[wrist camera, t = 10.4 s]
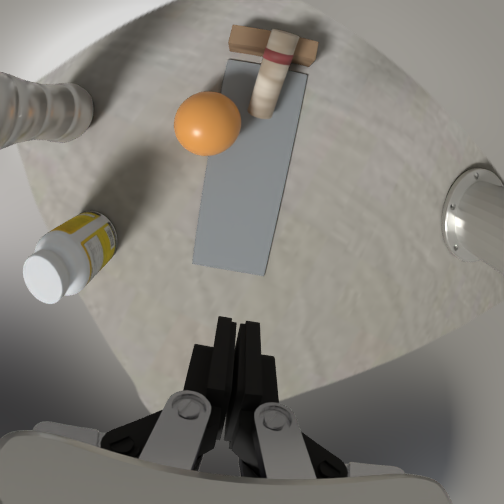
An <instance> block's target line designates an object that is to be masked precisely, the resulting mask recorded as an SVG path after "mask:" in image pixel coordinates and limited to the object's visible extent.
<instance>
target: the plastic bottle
mask: <svg viewBox="0 0 504 504" xmlns="http://www.w3.org/2000/svg"><path fill="white" fill-rule="evenodd" d="M93 113H94V106H93V101H92V98H91V96H90V94H89V93H88V92H87V91H86V90H85V89H84V88H82V87H80V86H79V85H77V84H74V83H59V84H39V83H34V82H30V81H26V80H22V79H20V78H17V77H15V76H12V75H9V74H6V73H3V72H0V149H3V148H6V147H8V146H10V145H13V144H16V143H20V142H25V141H30V140H47V141H50V142H58V143H65V142H69V141H71V140H74V139H76V138H78V137H80V136H81V135H82V134H83V133H84V132H85V131H86V130H87V129H88V127H89V125H90V123H91V121H92V118H93Z"/></svg>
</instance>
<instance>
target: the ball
mask: <svg viewBox="0 0 504 504" xmlns="http://www.w3.org/2000/svg"><path fill="white" fill-rule="evenodd" d="M174 129H175V134H176V137H177V139H178V141H179V142H180V143H181V145H182V146H183V147H184V148H185V149H187V150H188V151H190V152H192V153H194V154H197V155H202V156H212V155H216V154H219V153H222V152H224V151H225V150H227V149H228V148H229V147H231V146H232V145H233V143H234V142H235V141H236V139H237V137H238V135H239V133H240V129H241V116H240V113H239V110H238V108H237V106H236V105H235V104H234V102H233V101H232V100H231V99H229V98H228V97H227V96H225V95H223V94H220V93H217V92H211V91H207V92H200V93H197V94H194V95H192V96H190V97H189V98H187V99H186V100H185V101H184V102H183V103H182V104H181V106H180V107H179V108H178V110H177V113H176V115H175V120H174Z"/></svg>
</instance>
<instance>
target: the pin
mask: <svg viewBox="0 0 504 504" xmlns="http://www.w3.org/2000/svg"><path fill="white" fill-rule="evenodd" d="M298 40H299V36H297V35H295V34H292V33H289V32H286V31H282V30H277V29H272V31H271V34H270V37H269V40H268V44H267V46H266V48H265V51H264V54H263V60H262V63H261V66H260V69H259V73H258V76H257V79H256V83H255V86H254V90H253V93H252V96H251V100H250V103H249V107H248V110H247V111H248V113H249V114H251V115H252V116H254V117H257V118H261V119H270V118H272V115H273V112H274V109H275V106H276V103H277V100H278V97H279V94H280V91H281V88H282V86H283V83H284V80H285V77H286V74H287V71H288V68H289V65H290V64H291V61H292V58H293V56H294V51H295V48H296V45H297V43H298Z"/></svg>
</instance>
